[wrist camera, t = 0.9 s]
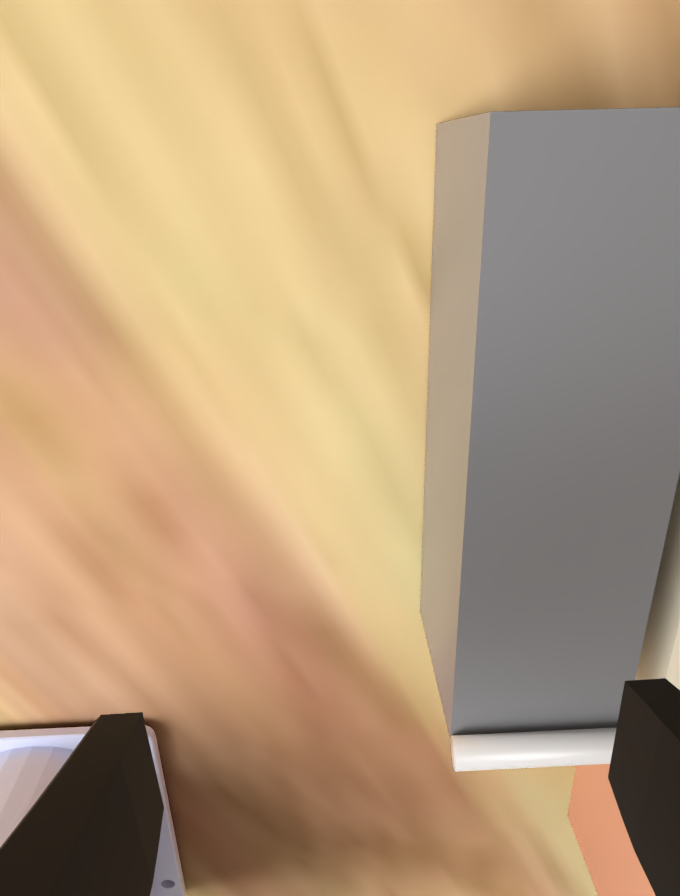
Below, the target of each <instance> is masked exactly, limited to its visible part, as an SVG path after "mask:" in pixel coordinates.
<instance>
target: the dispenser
mask: <svg viewBox="0 0 680 896" xmlns="http://www.w3.org/2000/svg"><path fill="white" fill-rule="evenodd" d="M679 473H680V107H664V108H624V109H583V110H543V111H503V112H487V113H483V114H478V115H474V116H469V117H465V118H460V119H456V120H451V121H447V122H442V123H438V124H437V130H436V160H435V189H434V219H433V249H432V278H431V308H430V337H429V367H428V397H427V426H426V456H425V485H424V515H423V545H422V574H421V604H420V613H421V617H422V621H423V626H424V630H425V634H426V638H427V643H428V647H429V651H430V655H431V660H432V664H433V668H434V672H435V677H436V681H437V685H438V689H439V694H440V698H441V702H442V706H443V711H444V715H445V719H446V724H447V728H448V732H449V736H450V749H451V758H452V764H453V768H454V770H455V772H457V771H477V770H496V769H516V768H536V767H555V766H575V765H595V764H610V762H611V756H612V751H613V745H614V740H615V734H616V728H617V723H618V717H619V711H620V706H621V700H622V694H623V689H624V683H625V681H630V680H635V678H636V673H637V668H638V664H639V659H640V654H641V650H642V645H643V640H644V636H645V631H646V626H647V622H648V617H649V612H650V608H651V603H652V599H653V594H654V589H655V585H656V580H657V575H658V571H659V566H660V561H661V557H662V552H663V547H664V543H665V538H666V533H667V529H668V524H669V519H670V515H671V510H672V505H673V501H674V496H675V492H676V487H677V482H678V478H679Z"/></svg>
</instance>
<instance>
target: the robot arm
mask: <svg viewBox="0 0 680 896" xmlns="http://www.w3.org/2000/svg"><path fill="white" fill-rule="evenodd" d="M608 779H609V782H610V785H611V788H612V791H613V794H614V796H615V799H616V802H617V805H618V808H619V811H620V814H621V817H622V819H623V822H624V825H625V827H626V830H627V833H628V835H629V838H630V841H631V843H632V846H633V849H634V851H635V853H636V855H637V858H638V860H639V862H640V864H641V866H642V868H643V870H644V872H645V874H646V876H647V879H648V881H649V883H650V885H651V887H652V889H653V891H654V893H655V895H656V896H680V690H679V689H678V688H676V687H675V686H674V685H673V684H672V683H670V682H669V681H668V680H667V679H666V678H661V679H646V680H630V681H625V683H624V689H623V694H622V700H621V706H620V711H619V717H618V723H617V728H616V734H615V740H614V745H613V751H612V756H611V762H610V768H609V773H608ZM185 893H186V889H185V884H184V879H183V873H182V868H181V863H180V858H179V853H178V848H177V842H176V837H175V832H174V827H173V822H172V817H171V812H170V806H169V801H168V796H167V791H166V786H165V781H164V775H163V770H162V765H161V760H160V755H159V750H158V745H157V739H156V734H155V732H154V730H153V729H152V728H151V727H149V726H147V725H145V722H144V718H143V713H142V712H140V713H125V714H110V715H101V716H100V717H99V718H98V719H97V720H96V721H95V722H94V723H93V725H92V726H88V727H67V728H47V729H26V730H5V731H0V896H185Z"/></svg>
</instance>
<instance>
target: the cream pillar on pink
mask: <svg viewBox="0 0 680 896" xmlns="http://www.w3.org/2000/svg"><path fill="white" fill-rule="evenodd" d="M661 678H666V679H667V680H668V681H669V682H670V683H672V684H673V685H674V686H675V687H676V688H678V689H679V690H680V473H679V478H678V482H677V487H676V492H675V496H674V501H673V505H672V510H671V515H670V519H669V524H668V529H667V533H666V538H665V543H664V547H663V552H662V557H661V561H660V566H659V571H658V575H657V580H656V585H655V589H654V594H653V599H652V603H651V608H650V612H649V617H648V622H647V626H646V631H645V636H644V640H643V645H642V650H641V654H640V659H639V664H638V668H637V673H636V678H635V680H646V679H661ZM609 768H610V764H595V765H576V771H575V777H574V782H573V788H572V793H571V799H570V805H569V810H568V818H569V821H570V823H571V826H572V828H573V831H574V834H575V836H576V839H577V841H578V844H579V847H580V849H581V852H582V854H583V857H584V860H585V862H586V865H587V867H588V870H589V873H590V875H591V878H592V880H593V883H594V886H595V888H596V891H597V893H598V896H656V895H655V893H654V891H653V889H652V887H651V885H650V883H649V881H648V879H647V876H646V874H645V872H644V870H643V868H642V866H641V864H640V862H639V860H638V858H637V855H636V853H635V851H634V849H633V846H632V843H631V841H630V838H629V835H628V833H627V830H626V827H625V825H624V822H623V819H622V817H621V814H620V811H619V808H618V805H617V802H616V799H615V796H614V794H613V791H612V788H611V785H610V782H609V779H608V773H609Z"/></svg>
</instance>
